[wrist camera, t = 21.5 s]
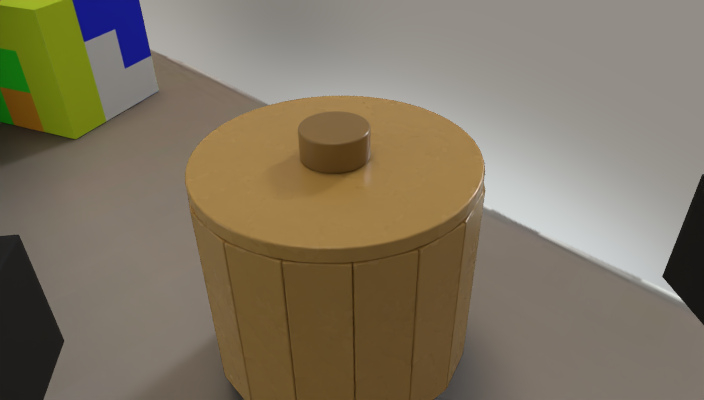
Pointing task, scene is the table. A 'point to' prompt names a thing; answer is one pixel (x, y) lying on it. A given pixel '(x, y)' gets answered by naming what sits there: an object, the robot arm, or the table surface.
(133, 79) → the puzzle toy
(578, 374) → the table surface
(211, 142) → the lidded wooden canister
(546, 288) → the table surface
